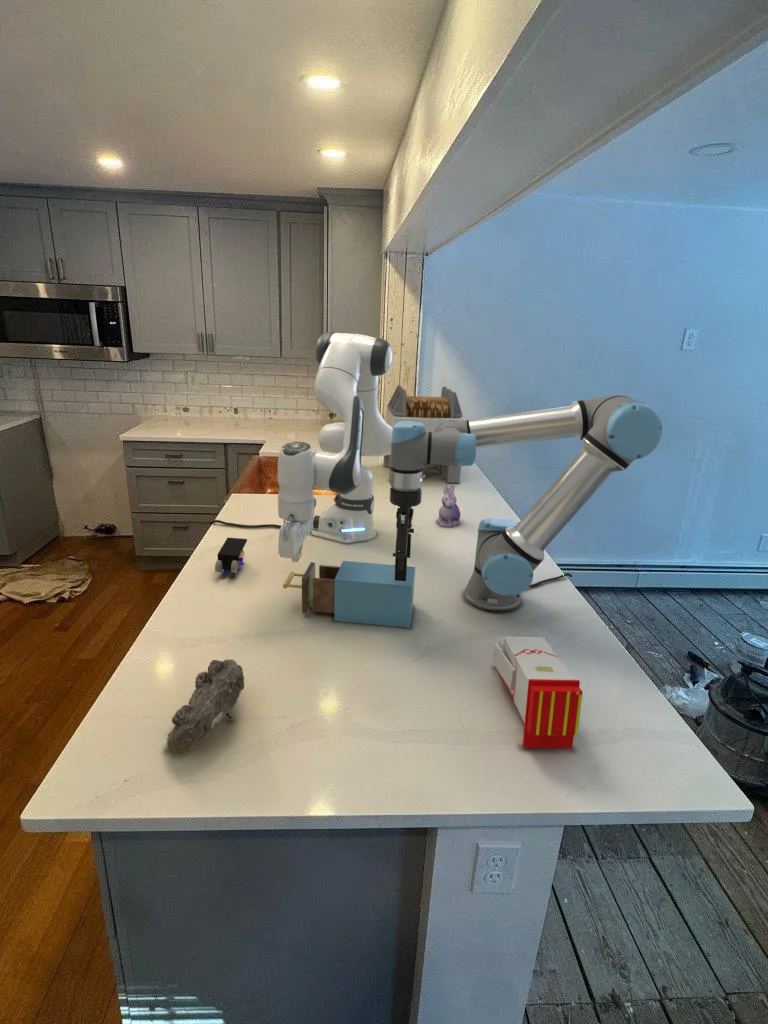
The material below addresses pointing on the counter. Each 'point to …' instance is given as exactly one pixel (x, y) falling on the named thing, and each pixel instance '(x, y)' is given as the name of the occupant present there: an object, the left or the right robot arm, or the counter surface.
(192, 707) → the fossil
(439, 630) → the counter surface
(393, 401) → the transformer
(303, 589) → the drawer
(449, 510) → the figurine
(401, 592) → the cabinet
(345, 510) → the left robot arm
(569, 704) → the toy
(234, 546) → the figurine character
